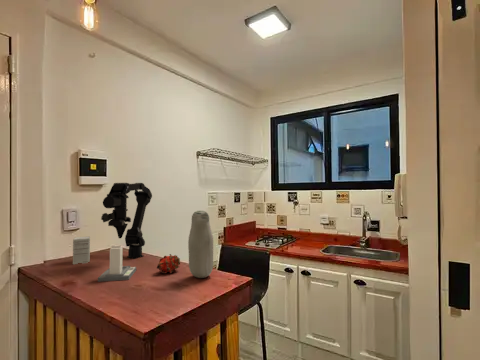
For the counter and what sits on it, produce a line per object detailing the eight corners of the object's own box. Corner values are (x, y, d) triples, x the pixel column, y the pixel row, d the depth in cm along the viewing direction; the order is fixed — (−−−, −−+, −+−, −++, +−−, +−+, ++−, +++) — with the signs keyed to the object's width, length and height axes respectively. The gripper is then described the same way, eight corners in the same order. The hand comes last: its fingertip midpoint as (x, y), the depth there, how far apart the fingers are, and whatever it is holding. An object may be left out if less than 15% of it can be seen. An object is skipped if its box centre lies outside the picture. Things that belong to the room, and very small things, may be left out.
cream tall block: (112, 272, 117) (112, 245, 117) (122, 272, 117) (122, 244, 118) (109, 275, 113) (109, 246, 113) (119, 275, 113) (119, 246, 114)
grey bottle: (217, 275, 117) (217, 210, 118) (202, 282, 108) (202, 211, 109) (199, 272, 122) (199, 209, 123) (183, 278, 113) (183, 211, 114)
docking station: (108, 271, 124) (108, 266, 124) (136, 270, 126) (136, 265, 126) (97, 281, 110) (97, 275, 111) (128, 279, 112) (128, 274, 112)
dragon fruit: (182, 272, 126) (159, 283, 118) (173, 260, 131) (149, 268, 122) (186, 260, 123) (163, 270, 114) (176, 247, 127) (153, 255, 118)
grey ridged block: (74, 261, 144) (74, 237, 144) (90, 259, 147) (90, 236, 148) (72, 264, 137) (72, 239, 138) (88, 262, 140) (89, 238, 141)
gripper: (109, 206, 146) (108, 236, 145) (96, 208, 128) (96, 242, 127) (131, 206, 148) (130, 235, 147) (122, 208, 129) (121, 241, 129)
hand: (120, 238), depth 137 cm, fingers closed
